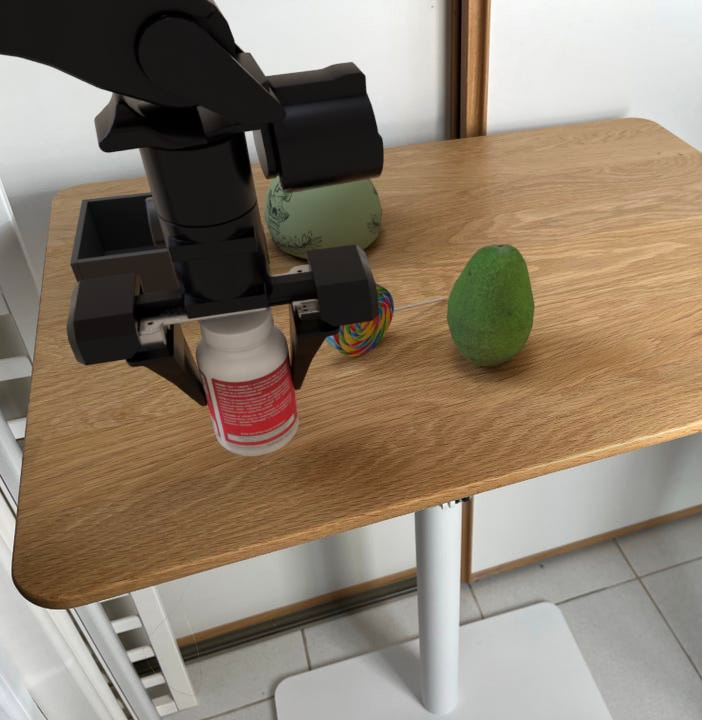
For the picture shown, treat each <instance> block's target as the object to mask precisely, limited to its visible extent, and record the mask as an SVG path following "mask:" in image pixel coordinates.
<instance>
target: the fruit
mask: <svg viewBox="0 0 702 720" xmlns="http://www.w3.org/2000/svg"><path fill="white" fill-rule="evenodd" d="M446 310H447V312H446V322H447V326H448V329H449V333H450V337H451V339H452V341H453V345H454V346H455V347H456V348H457V350H458V351H459V352H460V353H461V355H462V356H463V357H464V358H465V359H466V360H467V361H468V362H470V363H471V364H473V365H475V366H479V367H487V368H488V367H489V368H490V367H497V366H499V365H501V364H504V363H507V362H508V361H511V360H513V359H514V358H515V357H516V356H517V355H518V354H519V353H520V352H521V351H522V350H523V349H524V348H525V346H526V344H527V342H528V340H529V338H530V335H531V332H532V330H533V326H534V318H535V317H534V315H535V299H534V294H533V289H532V284H531V278H530V274H529V269H528V265H527V262H526V260H525V258H524V255H523V254H522V253H521V252H520V250H519V249H518V248H517V247H515V246H513V245H512V244H508V243H505V244H504V243H503V244H502V243H501V244H500V243H498V244H495V243H494V244H489V245H485V246H483V247H480V248H479V249H478V250H476V251H475V252H474V253H473V254H472V256H471V257H470V258H469V259H468V261H467V263H466V264H465V266H464V267H463V269H462V270H461V273H460V274H459V276H458V278H456V280H455V281H454V283H453V286H452V288H451V291H450V294H449V295H448V301H447V309H446Z"/></svg>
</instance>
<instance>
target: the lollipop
mask: <svg viewBox="0 0 702 720" xmlns="http://www.w3.org/2000/svg"><path fill="white" fill-rule="evenodd" d="M375 283H376V288H377V294H378V305H379V315H378V316H377V317H376V318H375V319H374V320H373V321H368V322H362V323H356V324H349V325H343V326H340V332H339V333H338V334H336V335H334V336H329V337H327V338H326V339H325V340H324V341H326V343H327V344H328V345H329V346H330V347H331V348H333V349H334V350H335V351H337V352H338V353H340V354H341V355H343V356H345V357H352V358H354V357H359V356H362V355H364V354H367V352H369V351H371V350H372V349H374V348H375V347H376V346H377V345H378V344H379V343H380V342H381V340H382V339H383V338H384V336H385V335H386V334H387V332H388V330H389V329H390V326H391V323H392V322H393V321H392V320H393V318H394V313H395V312H398V311H403V310H408V309H411V308H415V307H421V306H425V305H430V304H433V303H438V302H441V301H445V300H446V298H445V297H440V298H435V299H431V300H426V301H422V302H419V303H414V304H410V305H404V306H400V307H397V308H395V303H394V299H393V296H392V294H391V293H390V291H389V290H388V289H386V288H385V287H384V286H382V285H380V284H379V283H378V282H376V281H375Z"/></svg>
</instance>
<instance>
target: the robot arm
mask: <svg viewBox="0 0 702 720" xmlns="http://www.w3.org/2000/svg"><path fill="white" fill-rule="evenodd" d="M229 24H230V23H229V22H228V20H227V18H226V17H225V15H224V14H223V12H222V11H221V9H220V8H219V6H218V5H217V3H216V1H215V0H0V56H6V57H14V58H20V59H23V60H26V61H31V62H34V63H37V64H41V65H43V66H47V67H50V68H53V69H55V70H57V71H60V72H61V73H64V74H66V75H68V76H70V77H73V78H75V79H77V80H79V81H82V82H84V83H86V84H88V85H90V86H93V87H95V88H96V89H100V90H102V91H106V92H110V93H112V94H111V97H110V100H109V102H108V103H107V104H106V105H105V106H104V107H103V108H102V110H101V111H99V113H98V114H97V115H96V116H95V117H94V119H93V122H94V128H95V133H96V139H97V144H98V148H99V150H100V151H101V152H103V153H106V154H111V153H116V152H117V153H118V152H124V151H131V150H137V149H138V151H139V154H140V159H141V161H142V165H143V169H144V172H145V175H146V180H147V182H148V186H149V190H150V192H151V194H152V197H149V198H147V199H146V200H145V202H146V208H147V215H148V221H149V226H150V230H151V235H152V239H153V243H154V245H155V246H156V247H165V246H167V250H168V253H169V257H170V260H171V264H172V267H173V271H174V274H175V278H176V281H177V285H178V288H179V289H178V290H171V291H164V292H157V293H149V294H144V288H143V285H142V281H141V278H140V276H139V275H137V274H136V273H132V274H125V275H117V276H109V277H102V278H94V279H86V280H80V281H79V282H78V283H76V285H75V286H74V288H73V290H72V292H71V297H70V304H69V309H68V315H67V321H66V327H65V328H66V336H67V341H68V344H69V346H70V349H71V351H72V353H73V356H74V358H75V360H76V362H77V363H79V364H81V365H84V366H86V367H87V366H93V365H99V364H106V363H112V362H119V361H125V363H126V365H127V366H129V367H132V368H138V367H139V368H140V367H144V368H146V369H148V370H149V371H151V372H153V373H154V374H156V375H158V376H159V377H162V378H163V379H164V380H166V381H168V382H170V383H171V384H172V385H174V386H175V387H176V388H177V389H179V390H181V392H183V393H184V394H185V395H187V396H188V397H189V398H190V399H191V400H193V401H194V402H195V403H197V404H198V405H199V406H200V407H208V403H207V399H206V396H205V392H204V388H203V384H202V380H201V376H200V372H199V369H198V365H197V361H195V357H194V356H193V353H192V350H191V349H190V346H189V344H188V341H187V340H186V337H185V335H184V332H183V328H182V324H183V323H190V322H197V321H198V322H199V320H204V319H211V318H218V317H225V316H231V315H238V314H245V313H252V312H258V311H265V310H267V309H268V307H271V308H272V307H278V306H284V305H285V306H286V305H288V314H289V356H290V363H291V369H292V377H293V383H294V389H295V391H299V390H301V389H302V387H303V384H304V381H305V379H306V376H307V373H308V371H309V369H310V366H311V364H312V361H313V360H314V358H315V356H316V354H317V353H318V351H319V350H320V348H321V347H322V345H323V344H324V342H325V341H326V340H325V339H326V338H327V337H329V336H334V335H336V334H338V333H339V332H340V326H343V325H349V324H356V323H362V322H368V321H373V320H374V319H375V318H376V317H377V316H378V315H379V305H378V294H377V288H376V283H377V282H376V280H375V278H374V274H373V272H372V269H371V266H370V262H369V259H368V257H367V254H366V251H365V250H364V249H363V250H362V249H361V248H360V247H359V246H357V245H356V244H354V245H346V246H338V247H331V248H323V249H315V250H308V251H307V259H308V260H307V259H306V260H307V264H301V265H296V266H293V267H292V268H290V269H289V270H288V272H284V273H276V274H272V272H271V267H270V264H271V262H270V255H269V250H268V246H267V239H266V233H265V227H264V225H263V223H262V219H261V213H260V207H259V201H258V197H257V192H256V186H255V180H254V175H253V174H254V173H253V170H252V164H251V158H250V153H249V147H248V143H247V136H246V133H247V132H252V136H253V141H254V146H255V151H256V154H257V158H258V162H259V165H260V168H261V171H262V174H263V176H264V178H265V180H272V179H274V178H276V177H277V176H279V179H280V183H281V186H282V189H283V190H287V191H288V193H294V192H299V191H305V190H311V189H316V188H322V187H327V186H333V185H338V184H344V183H350V182H355V181H361V180H366V179H370V180H371V179H377V178H380V176H381V175H382V173H383V170H384V163H385V149H384V148H385V147H384V140H383V137H382V135H381V134H380V133H379V128H378V124H377V119H376V115H375V111H374V108H373V104H372V102H371V100H370V97H369V94H368V92H367V77H366V74H365V73H364V72H363V71H362V70H361V69H360V68H359V67H358V65H357V64H356V63H354V62H353V61H347V62H339V63H333V64H331V65H328V66H326V67H323V68H318V69H312V70H304V71H296V72H288V73H280V74H271V75H266V74H265V73H264V71H263V70H262V69H261V67H260V65H259V64H258V62H257V61H256V59H255V57H254V56H253V55H252V53H251V52H247V51H244V49H242V47H240V46H239V45H238V44H237V43H236V40H235V37H234V35H233V33H232V30H231V27H230V25H229ZM375 282H376V283H375Z"/></svg>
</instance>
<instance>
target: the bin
mask: <svg viewBox="0 0 702 720" xmlns="http://www.w3.org/2000/svg"><path fill="white" fill-rule="evenodd" d="M149 197H152V194H151V191H147V192H140V193H130V194H122V195H113V196H105V197H95V198H94V197H93V198H86V199H82V200H81V204H80V209H79V214H78V220H77V225H76V230H75V235H74V239H73V240H74V241H73V246H72V250H71V251H72V252H71V256H70V262H69V264H70V267H71V270H72V273H73V275H74V278H75V280H76V284H78V282H79V281H80V280H86V279H94V278H102V277H109V276H117V275H125V274H132V273H136V274H137V275H139V276H140V278H141V281H142V285H143V288H144V294H149V293H157V292H164V291H171V290H178V289H179V288H178V285H177V281H176V278H175V274H174V271H173V267H172V264H171V260H170V257H169V253H168V250H167V246H165V247H156V246H155V245H154V243H153V239H152V235H151V230H150V226H149V221H148V215H147V208H146V202H145V200H146V199H147V198H149Z"/></svg>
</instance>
